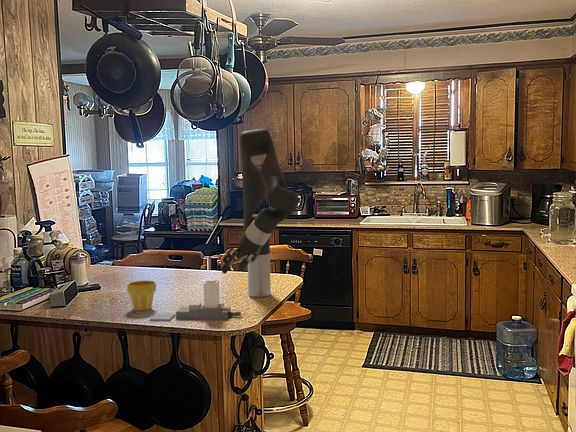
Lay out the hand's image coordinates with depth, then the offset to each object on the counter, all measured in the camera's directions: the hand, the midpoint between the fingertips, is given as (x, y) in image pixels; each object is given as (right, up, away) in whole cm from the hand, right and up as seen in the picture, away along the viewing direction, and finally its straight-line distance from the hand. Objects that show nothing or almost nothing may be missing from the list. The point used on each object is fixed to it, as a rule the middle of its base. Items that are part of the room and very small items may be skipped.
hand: (231, 270), depth 193 cm
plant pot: (-36, -16, +20) cm, 44 cm away
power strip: (-8, -17, +7) cm, 20 cm away
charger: (-8, -15, +7) cm, 18 cm away
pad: (-25, -17, +6) cm, 31 cm away
